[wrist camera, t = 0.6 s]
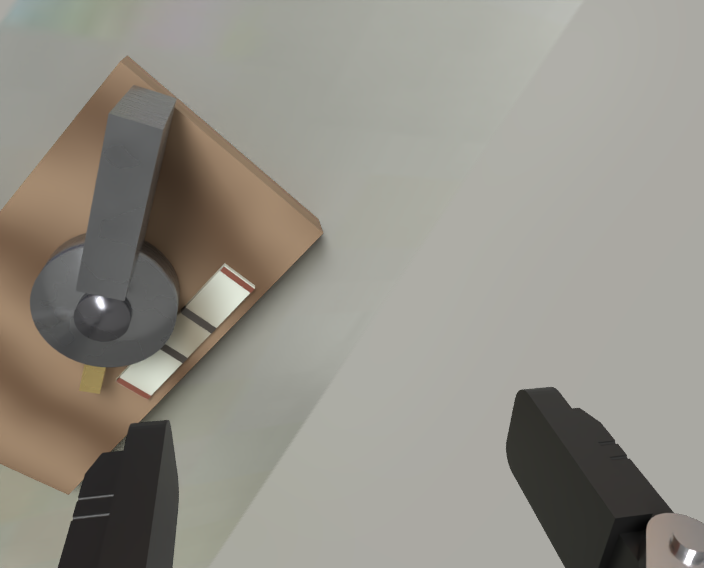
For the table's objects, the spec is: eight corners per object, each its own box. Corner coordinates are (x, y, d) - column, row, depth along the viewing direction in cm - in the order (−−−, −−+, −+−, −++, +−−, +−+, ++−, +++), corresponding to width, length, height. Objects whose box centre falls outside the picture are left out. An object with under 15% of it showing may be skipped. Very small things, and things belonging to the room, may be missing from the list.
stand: (76, 470, 37) (67, 499, 35) (-127, 373, 32) (-152, 400, 30) (318, 219, 32) (324, 235, 30) (127, 55, 27) (118, 62, 25)
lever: (27, 368, 30) (-15, 450, 25) (76, 66, 25) (34, 91, 19) (155, 389, 32) (141, 469, 27) (228, 114, 27) (228, 149, 21)
